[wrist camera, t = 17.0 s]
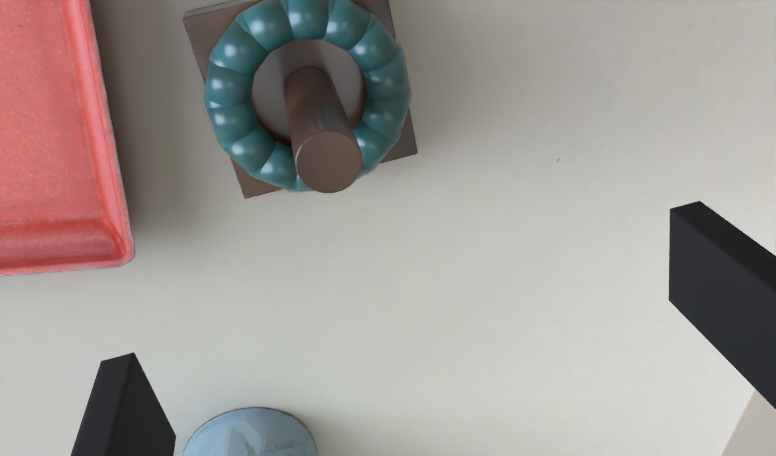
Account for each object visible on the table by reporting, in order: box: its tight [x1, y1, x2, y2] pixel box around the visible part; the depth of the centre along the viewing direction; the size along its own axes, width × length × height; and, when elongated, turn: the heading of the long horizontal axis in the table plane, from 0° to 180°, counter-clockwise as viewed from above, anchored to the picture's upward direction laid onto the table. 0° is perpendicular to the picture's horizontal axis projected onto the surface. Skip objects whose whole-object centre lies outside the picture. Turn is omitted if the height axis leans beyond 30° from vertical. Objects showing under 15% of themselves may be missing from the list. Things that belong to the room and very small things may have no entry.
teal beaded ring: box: [204, 0, 411, 192], centre depth 30 cm, size 9×9×2 cm
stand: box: [183, 0, 418, 199], centre depth 28 cm, size 9×9×10 cm
